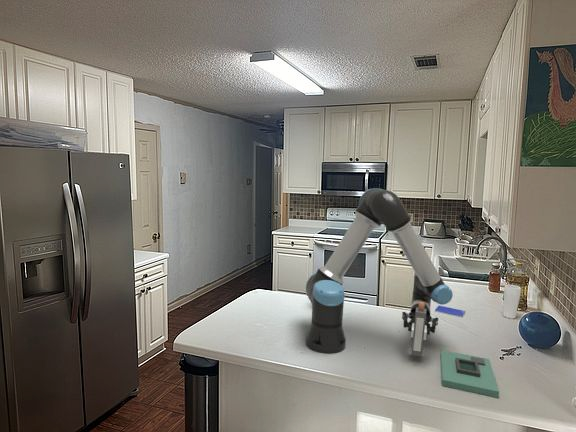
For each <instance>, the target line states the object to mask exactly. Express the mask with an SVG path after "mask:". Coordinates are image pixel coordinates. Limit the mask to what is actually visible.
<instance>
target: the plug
mask: <svg viewBox="0 0 576 432" xmlns="http://www.w3.org/2000/svg"><path fill="white" fill-rule="evenodd" d="M424 307H425V302H423V301H419V306H418V307H416V314H415V323H414V333H413V338H412V344H411V354H410V355H412V356H415V357H422V355H423V348H424V347H423V346H424V329H425V320H426V309H424Z"/></svg>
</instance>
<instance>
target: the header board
mask: <svg viewBox="0 0 576 432" xmlns="http://www.w3.org/2000/svg"><path fill="white" fill-rule="evenodd" d="M440 371H441V385H442V387H446V388H451V389H456V390H460V391H465V392H470V393H474V394H478V395H484V396H488V397H493V398H499V396H500V390H499V386H498V384H497V381H496V380H497V379H496V377H495V374H494V371H493V367H492V364H491V361H490V358H485V357H482V356H475V355H471V354H464V353H459V352H453V351H449V350H448V351H447V350H442V349H441V350H440Z"/></svg>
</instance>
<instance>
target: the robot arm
mask: <svg viewBox="0 0 576 432" xmlns="http://www.w3.org/2000/svg"><path fill="white" fill-rule="evenodd" d="M354 212H355V214H354V215H355V218H354V219H353V222H351V224H350V226H349V227H348V229H347V230H346V232H345V234H344V235H343V237H342V238H341V240H340V241H339V243H338V244H337V246H336V247H335V249H334V251H333V253H332V254H331V255H330V257H329V258H328V260H327V262H326V263H325V265H324V266H320V267H318V269H317V270H316V272H315V273H312V275H310V277H309V278H308V279H307V281H306V283H305V292H306V295H307V297H308V300H309V301H310V303H311V305H312V306H311V324H310V325H309V328H308V331H307V334H306V337H305V345H306V346H307V347H308V348H309V349H311V350H312V351H315V352H318V353H324V354H334V353H339V352H341V351H343V350H344V349H345V348H346V346H347V345H346V342H347V341H346V340H347V339H346V335H345V331H344V329H343V316H344V303H345V302H344V301H345V295H346V294H345V287H344V286H343V284H344V281H343V277H344V276H345V274H346V272H347V271H348V270H349V269H350V267H351V265H352V263H353V262H354V260H355V259H356V258H357V256H358V254H359V252H360V251H361V249H362V248H363V247H364V245H365V243H366V241H367V240H368V239H369V237H370V235H371V234H372V233H373V231H374V229H376V228H380V227H381V226H382V225H384V227H385V228H386V230H387V232H389V233H391V234H392V235H393V236H394V237H393V238H395V240H396V242H397V244H398V245H399V247H400V249H401V251H402V252H403V254H404V255H405V258H406V259H407V261H408V262H409V264H410V266H411V268H412V270H413V271H414V276H413V278H414V279H413V286H412V287H413V288H412V296H411V297H412V298H411V306H410V312H409V313H407V312H406V311H402V312H401V313H402V315H401V319H402V320H403V328H405V329H406V328H408V329H407V331H408V332H410V338H412V339H413V333H414V323H415V314H416V307H418V306H419V301H423V302H425V307H424V309H426V320H425V329H424V339H423V341H426V340H427V336H430V335H431V334H430V333H432V334H435V333H436V327H437V326H438V325H439V317H432V315H431V304H432V303H431V302H432V301H433V302H435V304H438V305H440V306H443V305H447V304H448V303H450V302H451V301H452V298H453V295H454V294H453V291H452V288H450V287H449V285H447V284H446V283H445V282H444V280H443V279H442V277H441V275H440V273H439V271H438V269H437V268H436V266H435V265H434V262H433V261H432V259H431V258H430V255H429V254H428V252H427V251H426V249H425V247H424V245H423V244H422V241H421V239H420V238H419V236H418V234H417V233H416V230H415V229H414V226H413V225H412V223H411V222H412V218H411V216H410V214H409V213H408V211H407V208H406V207H405V205H404V203H403V202H402V200H401V198H399V196H398V195H397V194H396V193H394V192H393V191H391V190H386V189H383V188H379V187H377V188H376V187H375V188H369V189H367V190H366V191H364V192H363V193H362V194H361V196H360V198H359V204H358V206H357V208H356V210H355V211H354ZM408 319H410V320H409V321H408Z"/></svg>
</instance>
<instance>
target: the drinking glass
mask: <svg viewBox="0 0 576 432" xmlns="http://www.w3.org/2000/svg"><path fill="white" fill-rule="evenodd" d="M521 292H522V288H521V287H520V286H518V285H516V284H510V283H509V284H505V285H504V289H503V306H502V308H503V311H502V316H503V317H504V318H506V319H510V320H511V319H516V317H517V312H518V308H519V307H518V306H519V303H520V298H521Z"/></svg>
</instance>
